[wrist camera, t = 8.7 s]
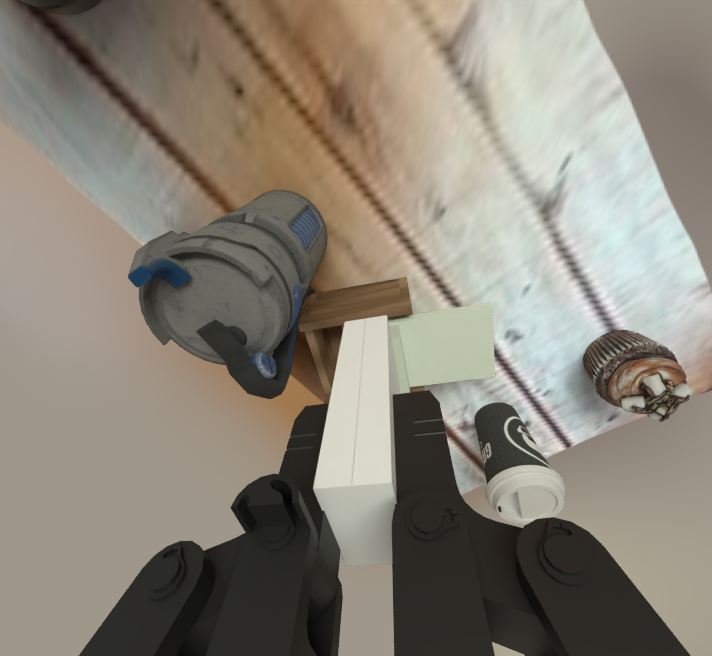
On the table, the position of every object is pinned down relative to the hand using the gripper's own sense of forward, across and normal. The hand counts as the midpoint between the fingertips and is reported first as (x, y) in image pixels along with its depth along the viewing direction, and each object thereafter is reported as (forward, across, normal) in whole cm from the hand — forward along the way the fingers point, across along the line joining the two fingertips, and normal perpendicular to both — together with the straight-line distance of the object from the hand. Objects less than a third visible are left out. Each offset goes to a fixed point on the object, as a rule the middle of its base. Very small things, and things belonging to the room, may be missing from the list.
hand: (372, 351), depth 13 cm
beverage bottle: (+33, -11, -3) cm, 35 cm away
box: (+32, -5, -17) cm, 37 cm away
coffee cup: (+32, +12, -37) cm, 51 cm away
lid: (+25, +4, -17) cm, 30 cm away
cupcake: (+33, +28, -27) cm, 51 cm away
